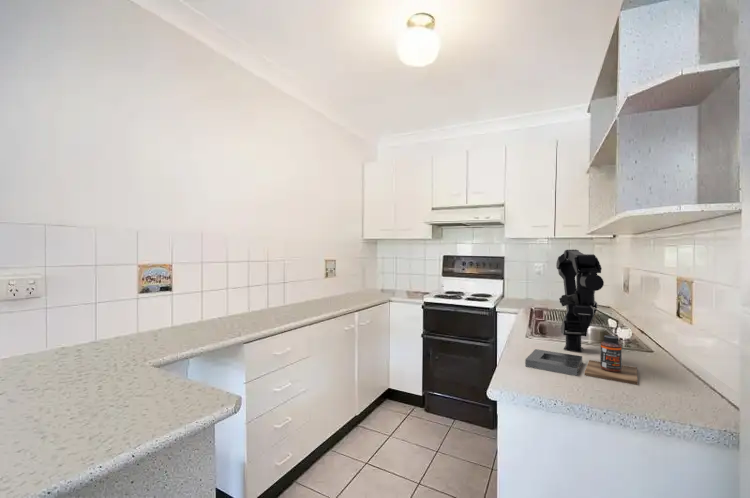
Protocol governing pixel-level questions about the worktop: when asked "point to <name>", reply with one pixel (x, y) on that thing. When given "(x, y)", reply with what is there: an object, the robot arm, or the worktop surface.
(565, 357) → the socket block
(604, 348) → the supplement bottle
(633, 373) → the walnut pad
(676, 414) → the worktop surface
